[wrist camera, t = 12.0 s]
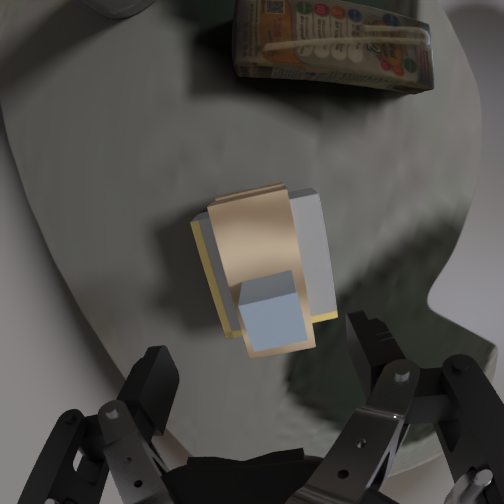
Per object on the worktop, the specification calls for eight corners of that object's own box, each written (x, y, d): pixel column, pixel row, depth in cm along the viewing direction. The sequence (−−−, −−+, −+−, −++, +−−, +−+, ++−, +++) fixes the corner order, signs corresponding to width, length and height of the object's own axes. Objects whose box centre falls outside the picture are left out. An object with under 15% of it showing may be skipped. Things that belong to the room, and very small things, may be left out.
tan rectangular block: (216, 197, 27) (207, 207, 22) (282, 182, 26) (286, 189, 22) (252, 329, 31) (250, 358, 27) (308, 318, 31) (315, 346, 26)
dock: (198, 213, 32) (190, 222, 28) (311, 188, 30) (318, 193, 27) (230, 319, 36) (226, 338, 32) (330, 299, 34) (337, 317, 31)
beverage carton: (411, 99, 27) (441, 92, 21) (234, 81, 27) (226, 64, 21) (407, 37, 24) (434, 19, 18) (236, 16, 25) (230, -12, 19)
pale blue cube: (241, 281, 24) (238, 306, 20) (291, 269, 24) (296, 292, 20) (255, 323, 25) (254, 351, 22) (302, 312, 25) (307, 340, 21)
